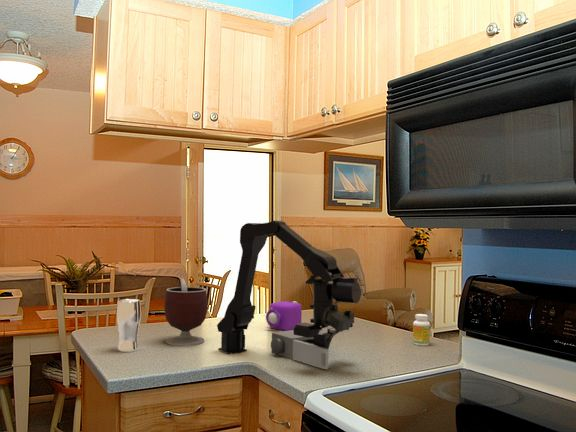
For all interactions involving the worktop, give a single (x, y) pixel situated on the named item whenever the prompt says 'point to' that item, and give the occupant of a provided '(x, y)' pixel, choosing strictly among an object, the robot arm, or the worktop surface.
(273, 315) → the toy camera
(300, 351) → the camera door
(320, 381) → the worktop surface
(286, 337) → the box
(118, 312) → the beer glass
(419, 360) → the worktop surface
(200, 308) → the mate gourd
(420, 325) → the supplement bottle
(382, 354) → the worktop surface
